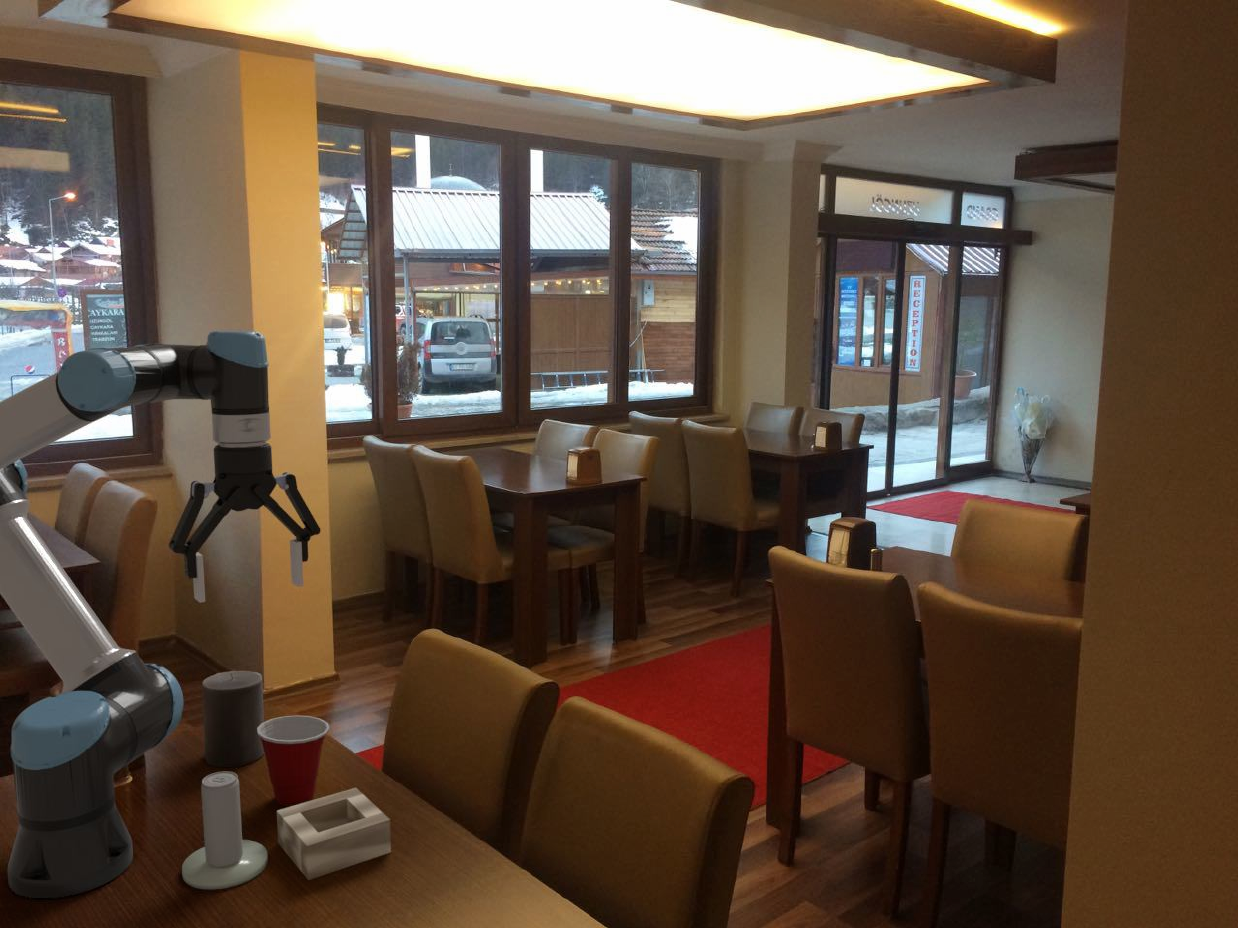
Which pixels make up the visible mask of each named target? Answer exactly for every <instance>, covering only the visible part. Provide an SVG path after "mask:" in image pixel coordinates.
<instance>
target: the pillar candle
mask: <svg viewBox="0 0 1238 928" xmlns="http://www.w3.org/2000/svg"><path fill="white" fill-rule="evenodd" d="M201 684H202V711H203V735H204V736H203V737H204V738H203V740H204V744H203V745H204V759H205V762H206V764H208V765H210V766H212V767H218V768H238V767H242V766H245V765H246V766H247V765H249V764H252V763H254V762H253V761H255V760H256V761H258V760H260V759H261V758H262V757H263V756H264V755H265V753H264V749H263V745H262V741H261V738H260V737H259V736H258V731H257V728H258V727H259V726H260V725H261V723H263V722H265V720H264V717H265V716H264V715H265V714H264V690H263V689H264V688H263V677H262V674H261V673H259V672H257V671H250V670H231V671H223V672H217V673H216V674H213V675H210V676H208V677H207V678H205V679H204V680H203V681H202V683H201ZM263 754H264V755H263ZM262 755H263V756H262ZM261 756H262V757H261ZM260 757H261V758H260ZM259 758H260V759H259ZM257 759H258V760H257ZM256 761H255V762H256ZM251 762H252V763H251Z"/></svg>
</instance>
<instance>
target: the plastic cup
mask: <svg viewBox="0 0 1238 928" xmlns="http://www.w3.org/2000/svg"><path fill="white" fill-rule="evenodd" d="M329 730H330V725H329V722H327V721H326V720H323V719H322V718H318V717H315V716H310V715H298V714H297V715H285V716H280V717H274V718H270V719H268V720H266V721H264V722H263V723H261V725H260V726H259V727H258V728H257V731H258V736H259V737H260V738H261V741H262V745H263V749H264V752H265V753H264V755H265V759H266V765H267V770H268V775H269V778H270V783H271V785H272V790H273V793H274V799H275V801H276V803H277V804H279V805H281V806H285V807H291V806H294V805H298V804H301V803H305V802H308V801H311V800H313V798H314V795H315V792H316V787H317V785H316V784H317V778H318V776H319V770H320V762H321V761H320V760H321V754H322V747H323V745H324V740H325V739H326V735H327V734H328V732H329Z"/></svg>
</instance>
